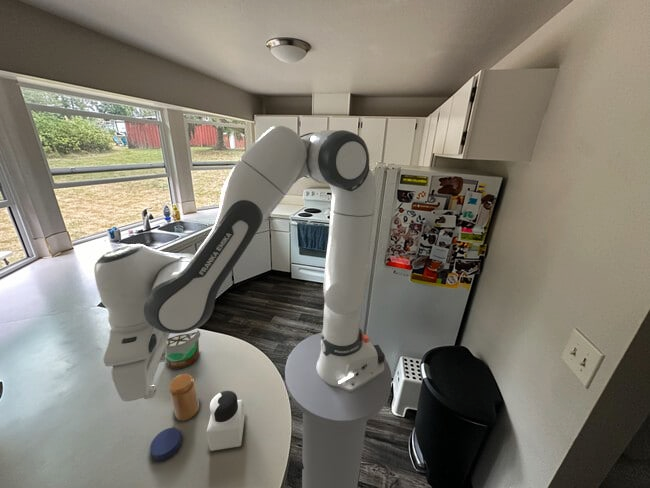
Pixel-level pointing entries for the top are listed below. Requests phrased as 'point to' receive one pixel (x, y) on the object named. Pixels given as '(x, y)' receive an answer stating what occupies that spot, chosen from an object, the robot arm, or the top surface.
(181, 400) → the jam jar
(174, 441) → the jar lid
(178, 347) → the food container
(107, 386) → the top surface
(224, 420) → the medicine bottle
